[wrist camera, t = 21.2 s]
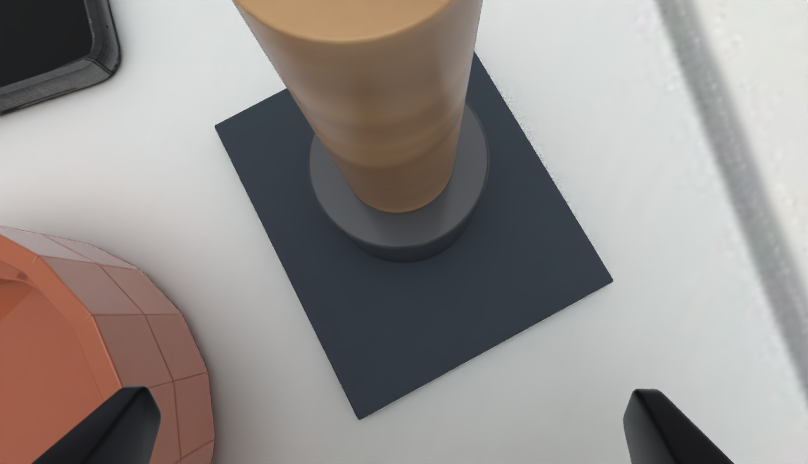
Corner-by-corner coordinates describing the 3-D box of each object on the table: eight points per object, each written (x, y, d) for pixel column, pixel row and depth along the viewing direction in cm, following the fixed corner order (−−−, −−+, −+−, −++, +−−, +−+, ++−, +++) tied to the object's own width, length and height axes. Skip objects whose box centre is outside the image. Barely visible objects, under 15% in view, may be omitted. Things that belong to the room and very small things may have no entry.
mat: (608, 281, 18) (614, 280, 17) (360, 417, 18) (358, 420, 17) (445, 13, 20) (446, 4, 19) (220, 131, 20) (213, 125, 19)
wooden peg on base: (437, 287, 18) (462, 223, 5) (307, 223, 18) (22, 13, 5) (500, 159, 18) (671, -204, 5) (373, 100, 19) (256, -351, 6)
